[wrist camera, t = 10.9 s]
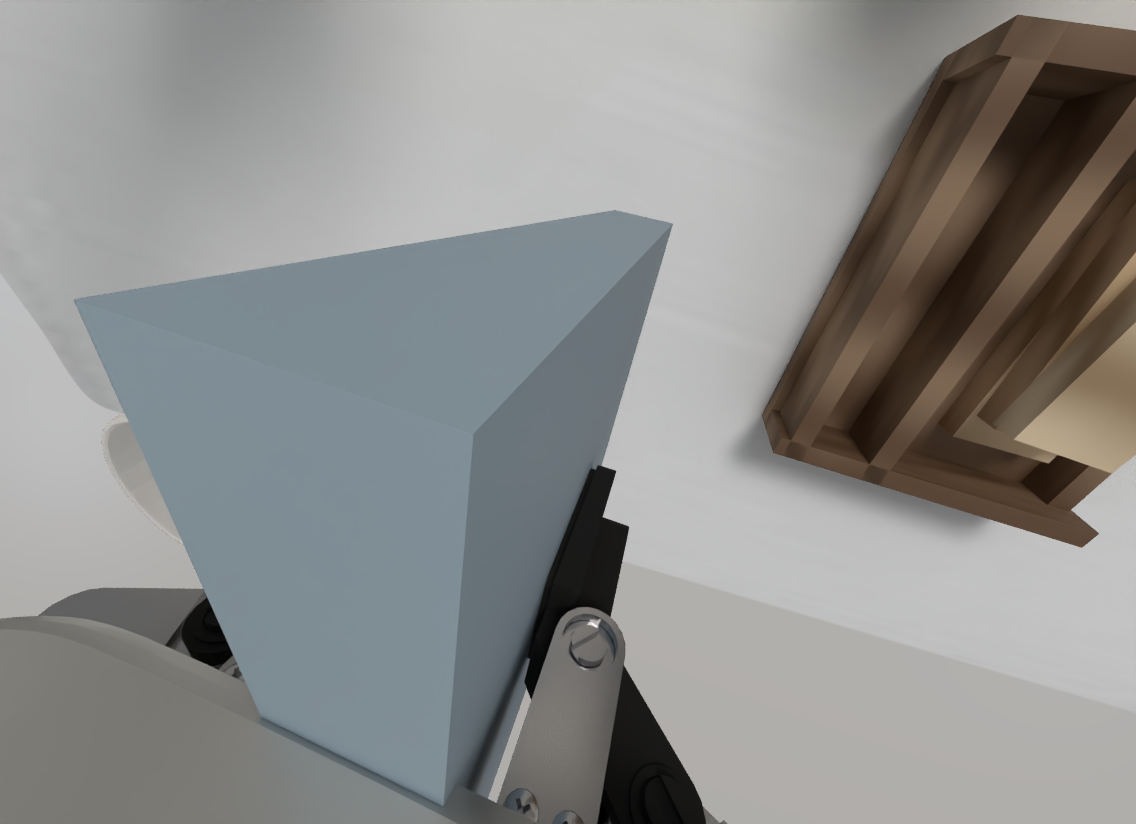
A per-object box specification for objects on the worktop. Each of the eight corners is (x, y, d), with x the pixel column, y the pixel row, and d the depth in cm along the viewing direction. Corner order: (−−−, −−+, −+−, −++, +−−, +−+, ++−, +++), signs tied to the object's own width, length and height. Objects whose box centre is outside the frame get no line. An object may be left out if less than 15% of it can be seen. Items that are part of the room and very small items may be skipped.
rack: (945, 57, 17) (1017, 14, 13) (1390, 125, 15) (1634, 97, 11) (762, 415, 26) (773, 452, 22) (1019, 491, 24) (1082, 547, 20)
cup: (451, 404, 33) (293, 535, 20) (383, 458, 38) (222, 589, 25) (358, 297, 31) (113, 366, 18) (299, 369, 36) (76, 463, 23)
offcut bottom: (1129, 178, 16) (1165, 175, 15) (1262, 202, 16) (1312, 202, 14) (938, 422, 22) (952, 436, 21) (1028, 448, 22) (1048, 463, 20)
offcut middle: (1143, 193, 15) (1183, 192, 14) (1291, 212, 15) (1347, 213, 13) (976, 415, 20) (995, 429, 19) (1080, 439, 20) (1107, 455, 18)
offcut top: (1163, 249, 15) (1206, 254, 14) (1285, 284, 14) (1342, 292, 13) (992, 423, 19) (1013, 439, 18) (1083, 454, 19) (1111, 473, 17)
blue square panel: (615, 210, 14) (73, 299, 2) (672, 223, 13) (473, 433, 2) (548, 506, 21) (350, 916, 9) (585, 519, 21) (430, 960, 9)
